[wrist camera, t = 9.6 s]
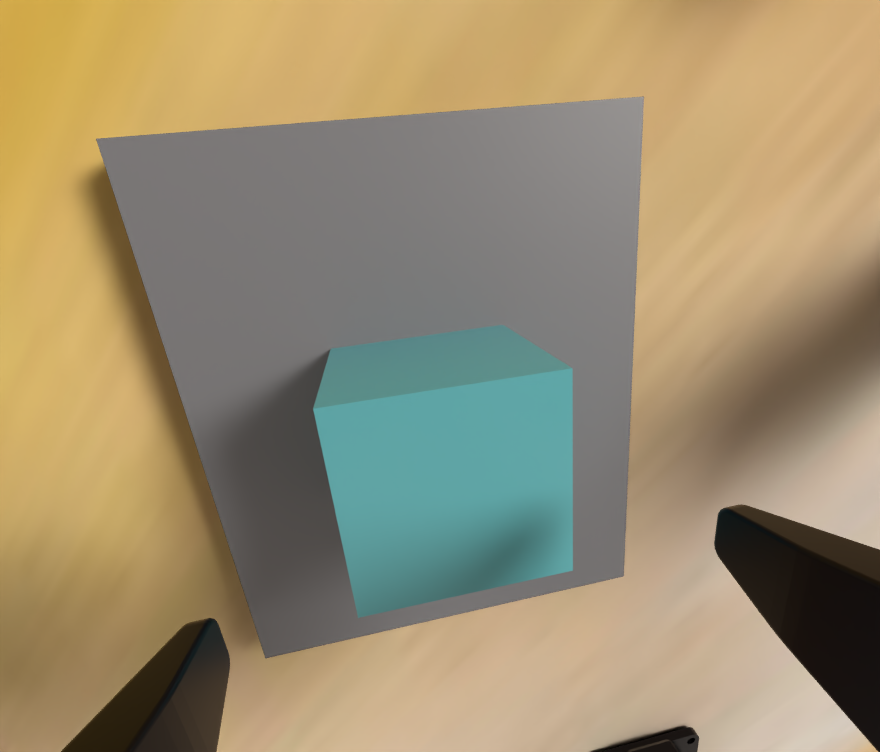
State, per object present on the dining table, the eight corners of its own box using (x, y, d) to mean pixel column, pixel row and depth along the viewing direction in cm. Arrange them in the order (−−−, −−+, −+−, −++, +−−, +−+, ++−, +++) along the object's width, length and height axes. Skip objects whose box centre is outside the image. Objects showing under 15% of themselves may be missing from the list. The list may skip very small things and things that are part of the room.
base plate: (605, 552, 20) (623, 576, 18) (273, 625, 18) (265, 658, 17) (615, 110, 14) (643, 96, 13) (126, 150, 12) (95, 138, 11)
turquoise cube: (511, 472, 16) (572, 570, 11) (359, 500, 15) (358, 618, 10) (502, 325, 14) (572, 368, 9) (330, 348, 13) (313, 408, 9)
